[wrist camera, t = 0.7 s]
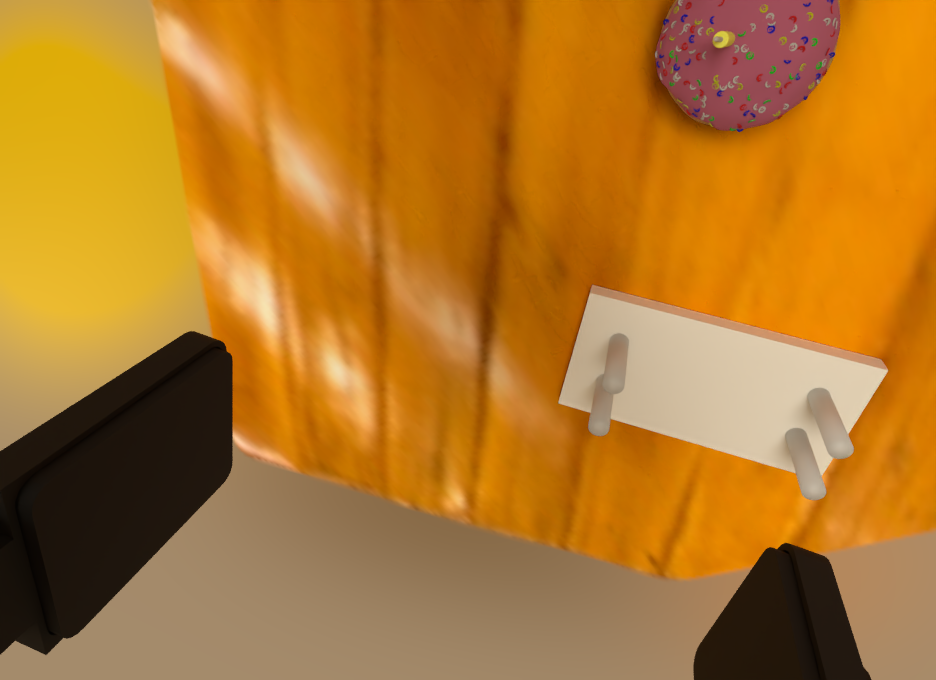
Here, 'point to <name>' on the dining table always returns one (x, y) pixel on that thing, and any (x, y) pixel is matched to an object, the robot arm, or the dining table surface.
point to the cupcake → (745, 57)
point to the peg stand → (718, 384)
